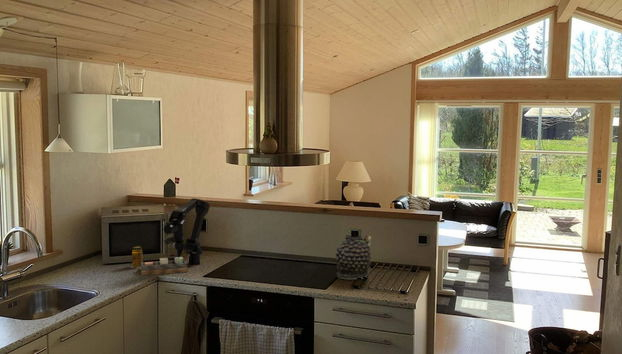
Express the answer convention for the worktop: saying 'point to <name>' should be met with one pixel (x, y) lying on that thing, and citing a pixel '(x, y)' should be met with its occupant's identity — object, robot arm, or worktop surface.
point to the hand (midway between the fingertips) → (178, 257)
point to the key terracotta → (148, 263)
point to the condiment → (137, 257)
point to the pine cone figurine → (353, 257)
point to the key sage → (178, 260)
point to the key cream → (163, 261)
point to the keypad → (163, 268)
